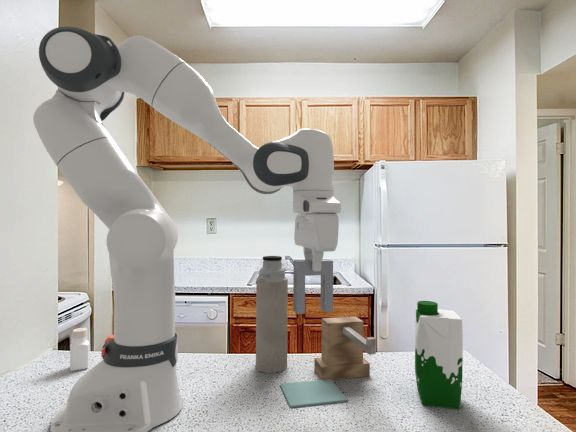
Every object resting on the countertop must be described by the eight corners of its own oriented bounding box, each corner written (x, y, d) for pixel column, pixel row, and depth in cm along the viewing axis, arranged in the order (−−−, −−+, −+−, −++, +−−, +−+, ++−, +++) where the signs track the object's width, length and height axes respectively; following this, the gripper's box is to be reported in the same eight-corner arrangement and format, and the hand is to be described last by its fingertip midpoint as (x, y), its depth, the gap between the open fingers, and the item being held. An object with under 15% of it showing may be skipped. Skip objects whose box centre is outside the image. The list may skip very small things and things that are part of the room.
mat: (290, 407, 73) (290, 405, 73) (280, 385, 82) (280, 383, 82) (347, 401, 75) (347, 399, 75) (330, 380, 85) (330, 378, 85)
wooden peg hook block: (343, 410, 72) (344, 341, 72) (314, 370, 91) (314, 315, 91) (399, 403, 75) (399, 337, 75) (359, 366, 94) (359, 313, 94)
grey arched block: (296, 314, 77) (296, 261, 77) (293, 310, 80) (293, 260, 80) (332, 312, 79) (333, 260, 79) (328, 308, 81) (328, 259, 82)
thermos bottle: (267, 358, 99) (268, 254, 99) (293, 364, 94) (293, 255, 95) (249, 368, 92) (250, 256, 92) (275, 375, 88) (276, 258, 88)
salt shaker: (69, 372, 89) (70, 332, 89) (70, 366, 92) (70, 328, 92) (88, 369, 91) (89, 330, 91) (88, 363, 94) (88, 326, 94)
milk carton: (412, 387, 82) (412, 298, 82) (455, 391, 80) (456, 300, 80) (418, 407, 73) (418, 307, 74) (467, 412, 71) (467, 309, 72)
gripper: (288, 206, 89) (287, 264, 89) (312, 203, 69) (312, 276, 69) (313, 207, 90) (312, 263, 90) (344, 203, 70) (344, 275, 70)
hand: (312, 269), depth 79 cm, fingers closed on grey arched block, 3 cm apart
